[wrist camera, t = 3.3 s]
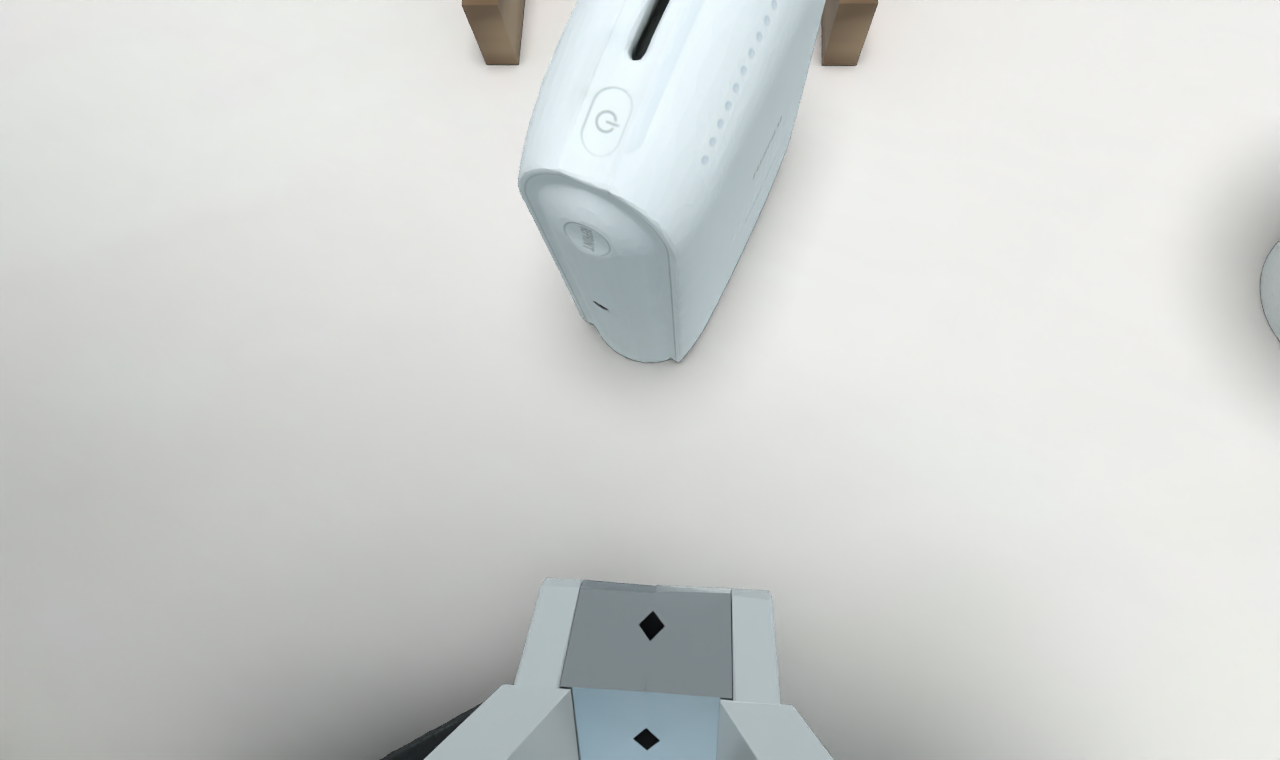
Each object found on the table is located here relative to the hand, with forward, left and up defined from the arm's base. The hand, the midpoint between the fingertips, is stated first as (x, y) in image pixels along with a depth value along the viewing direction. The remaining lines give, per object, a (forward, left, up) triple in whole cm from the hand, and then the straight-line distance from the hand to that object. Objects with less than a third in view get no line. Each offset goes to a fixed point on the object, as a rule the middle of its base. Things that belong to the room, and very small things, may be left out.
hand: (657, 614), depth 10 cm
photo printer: (0, +11, -13) cm, 17 cm away
